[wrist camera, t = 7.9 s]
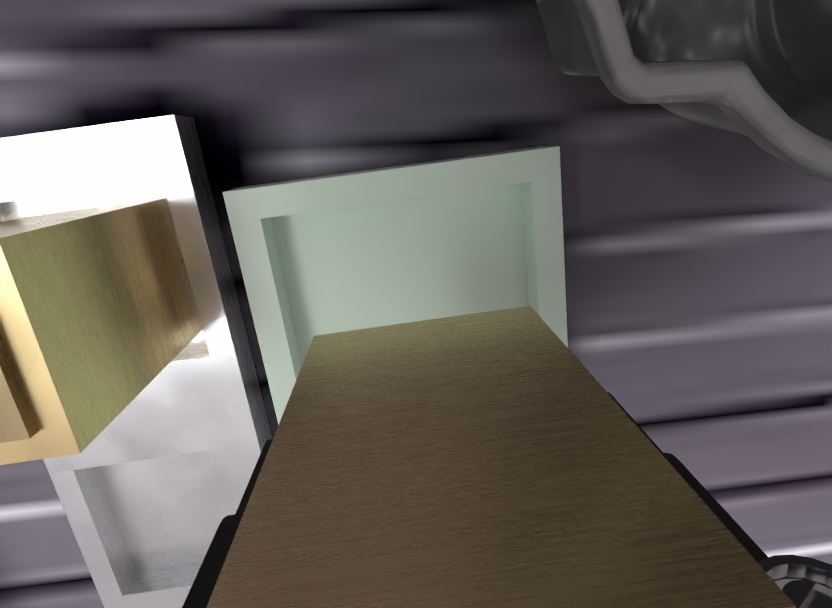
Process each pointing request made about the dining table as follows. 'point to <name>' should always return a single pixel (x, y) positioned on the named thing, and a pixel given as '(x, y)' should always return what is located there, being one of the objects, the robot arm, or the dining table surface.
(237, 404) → the white flat board
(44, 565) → the dining table surface
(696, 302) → the dining table surface
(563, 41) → the bundt pan
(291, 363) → the tray
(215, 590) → the wooden crate cube
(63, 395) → the cream square knob
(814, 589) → the robot arm
